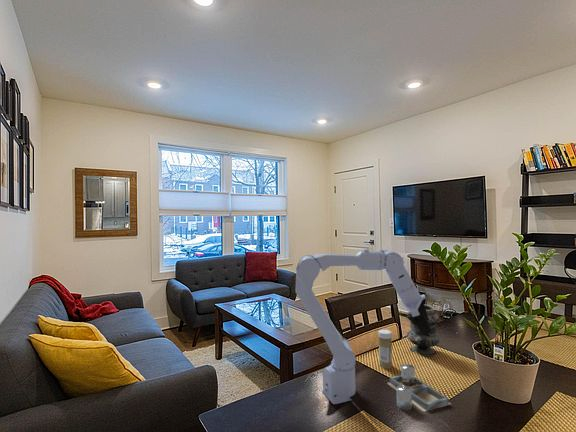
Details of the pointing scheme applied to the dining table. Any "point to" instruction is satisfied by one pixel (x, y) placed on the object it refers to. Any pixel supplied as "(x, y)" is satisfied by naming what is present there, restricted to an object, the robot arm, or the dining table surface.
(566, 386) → the dining table surface
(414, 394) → the board
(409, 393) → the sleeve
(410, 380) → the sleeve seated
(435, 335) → the apothecary jar
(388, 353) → the sprinkles bottle
